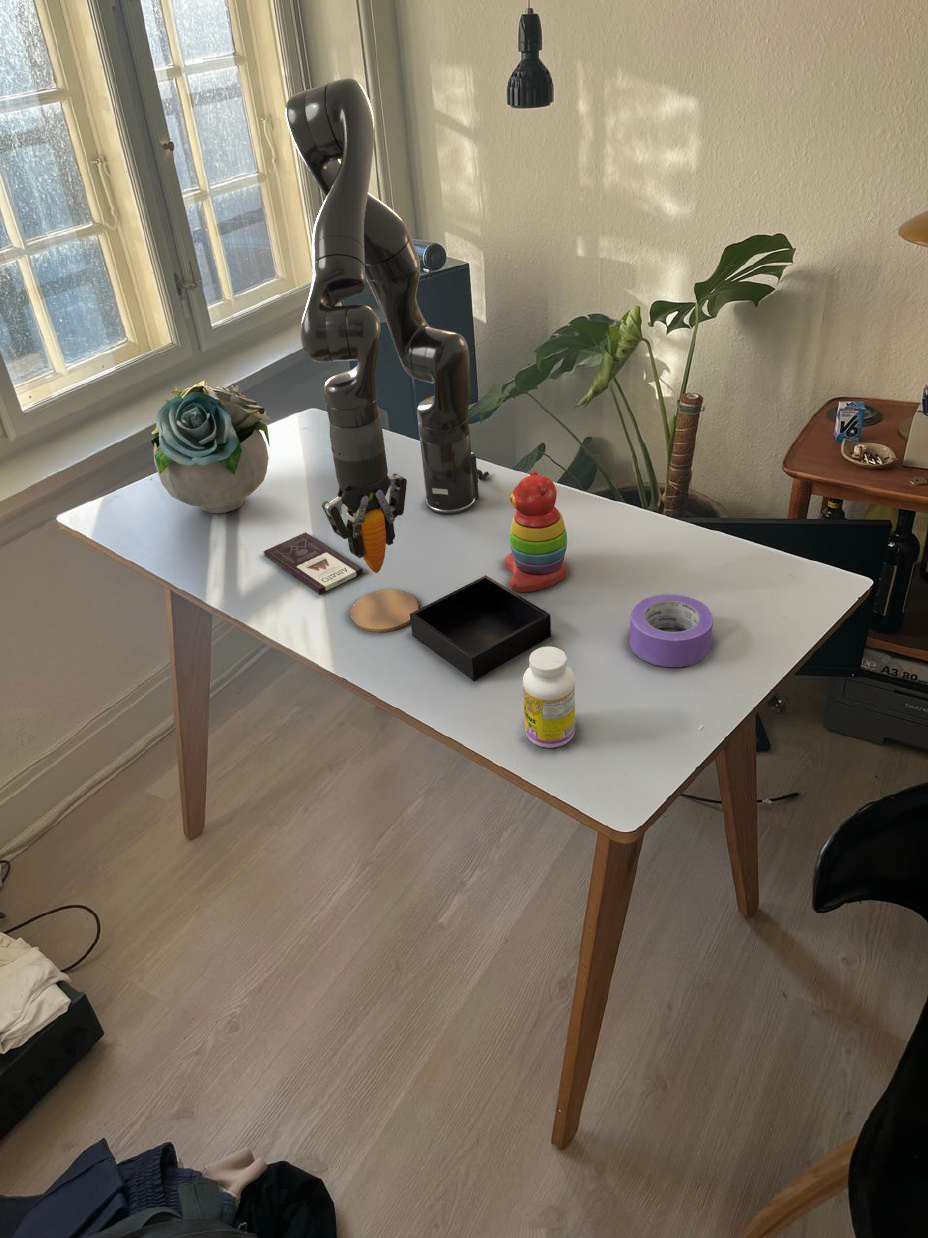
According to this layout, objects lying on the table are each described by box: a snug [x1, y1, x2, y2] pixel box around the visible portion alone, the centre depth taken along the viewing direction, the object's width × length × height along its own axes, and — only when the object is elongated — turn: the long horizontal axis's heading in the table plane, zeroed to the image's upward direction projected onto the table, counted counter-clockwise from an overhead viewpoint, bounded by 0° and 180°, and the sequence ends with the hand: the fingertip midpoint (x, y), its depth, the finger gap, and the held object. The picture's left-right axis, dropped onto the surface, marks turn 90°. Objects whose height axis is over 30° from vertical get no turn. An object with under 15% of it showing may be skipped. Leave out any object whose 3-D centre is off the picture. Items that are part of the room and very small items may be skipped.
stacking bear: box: [504, 470, 568, 593], centre depth 148 cm, size 11×10×18 cm
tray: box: [410, 574, 552, 682], centre depth 139 cm, size 15×15×4 cm
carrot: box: [354, 493, 387, 574], centre depth 139 cm, size 5×5×15 cm
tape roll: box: [629, 593, 714, 668], centre depth 134 cm, size 12×12×5 cm
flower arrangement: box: [150, 378, 272, 514], centre depth 175 cm, size 25×25×24 cm
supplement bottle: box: [522, 646, 576, 749], centre depth 118 cm, size 7×7×13 cm
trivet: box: [349, 589, 420, 633], centre depth 148 cm, size 11×11×1 cm
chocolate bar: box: [263, 531, 364, 595], centre depth 161 cm, size 9×1×18 cm
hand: (373, 548), depth 141 cm, fingers closed on carrot, 4 cm apart
